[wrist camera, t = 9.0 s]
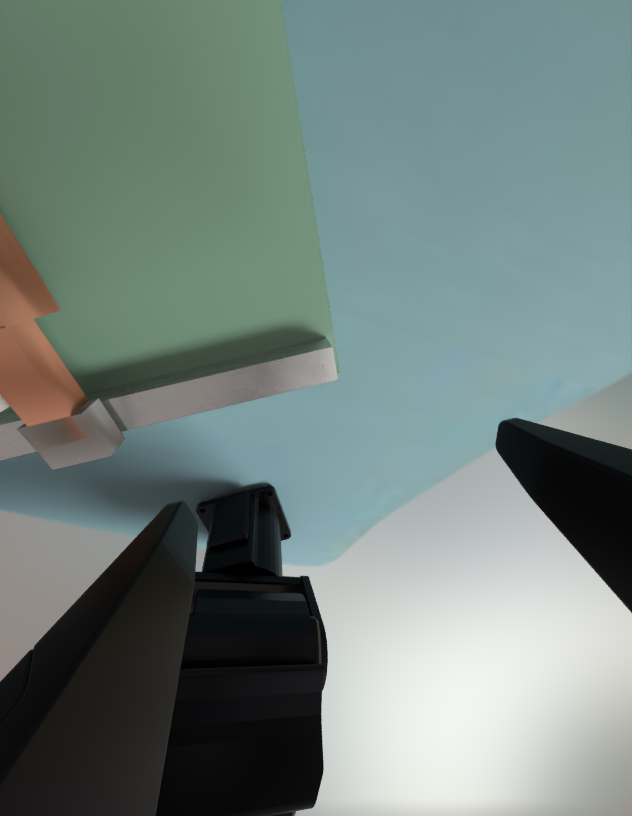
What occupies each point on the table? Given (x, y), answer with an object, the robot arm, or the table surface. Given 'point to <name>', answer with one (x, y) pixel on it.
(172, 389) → the rail
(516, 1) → the table surface
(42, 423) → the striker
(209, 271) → the pitch
